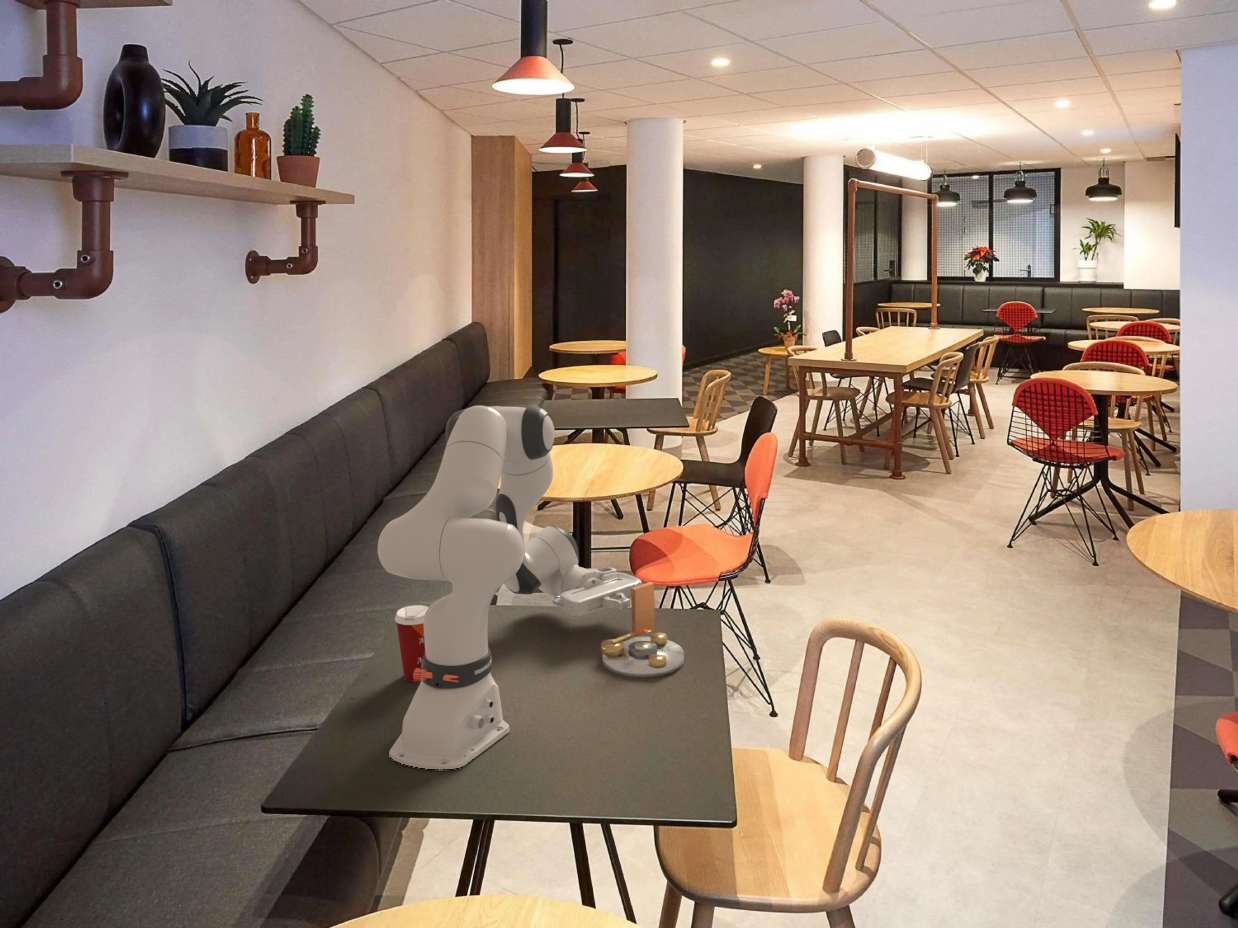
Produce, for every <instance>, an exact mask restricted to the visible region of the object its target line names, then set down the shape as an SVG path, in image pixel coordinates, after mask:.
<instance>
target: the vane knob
mask: <svg viewBox="0 0 1238 928" xmlns="http://www.w3.org/2000/svg"><path fill="white" fill-rule="evenodd" d="M630 604H631V632H630V633H628V634H625V635H622V636H619V637H617V638H612V639H611V638H609V639H606V640H603V641H601V643H600V645H601V646H600V647H601V649H600V650H601V651H600V652H601V654H604V655H606V656H618V655H621V654H623V653H624V641H627V640H629V639H632V638H635V637H641V636H642V635H645V634H647V633H650V632H653V631H655V630H656V629H655V625H656V623H655V622H656V621H655V619H656V618H655V583H654V582H651V581H649V582H646V583H642V585H640V586H637V587H634V588H631V600H630Z"/></svg>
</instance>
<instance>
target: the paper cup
mask: <svg viewBox="0 0 1238 928" xmlns="http://www.w3.org/2000/svg"><path fill="white" fill-rule="evenodd" d="M428 608H429V606H427V605H421V604H417V605H408V606H404V607H401V608H399V609H398V610H397V612H396V615H395V616H394V617H395V618H394V621H395V623H396V628H397V629H396V630H397V636H398V642H399V643H398V644H399V648H400V649H399V651H400V656H401V657H400V658H401V663H402V664H401V665H402V671H403V678H404V680H405V681H407V682H411V683H421V680H414V677H413V673H414V670H415V669H416V668H419V669H422V662H423V657H424V654H425V640H424V626H423V619H424V615H425V612H426V610H427V609H428Z"/></svg>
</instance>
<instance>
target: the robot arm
mask: <svg viewBox="0 0 1238 928" xmlns="http://www.w3.org/2000/svg"><path fill="white" fill-rule="evenodd" d="M444 432H445V435H444V436H445V444H446V446H445V449H444V451H443V456H442V458H441V459H442V460H441V463H440V466H439V469H438V472H437V474H436V477H435V479H434V483H433V484H432V486H431V488H430V489H429V491H427V493H426V495H425V496H423V498H422V499H421V500H420V501H419V502H418V503H417V504H416V505H414V506H413V508H411V509H410V510H408V511H407V512H406V513H404V514H402V515H401V516H399V517H397V518H394V519H392V520H391V521H389V522H388V523H387V524H386V525H385V526H384V528H383V529H382V531H381V533H380V535H379V537H378V540H377V554H378V559H379V562H380V563H381V565H382V567H383V568H384V570H385V571H386V572H387V574H388V573H389V574H392V575H394V576H395V575H396V576H398V577H402V578H406V579H411V580H421V581H422V580H423V581H424V580H426V581H445V582H450V583H451V585H452V592H451V593H449V594H447V595H445V596H442V597H441V598H439V599H437V600H435V601H434V602H433V603H431V604H430V605H429V606H428V607H429V608H428V609H427V610H426V612H425V615H424V619H423V626H424V640H425V654H424V657H423V662H422V669H419V668H416V669H415V670H414V673H413V677H414V680H421V682H419V685H418V687H417V689H416V691H415V694H414V695H413V698H412V700H411V703H410V704H409V706H408V709H407V710H406V713H405V715H404V717H403V720H402V731H401V733H400V735H399V736H398V738H397V739H396V740H395V742H394V743H393V745H392V747H391V748H390V750H389V752H388V753H389V754H388V757H389V758H390V757H391V758H392V759H393V760H392V759H391V758H390V759H391V760H392V761H394V760H395V761H397V762H400V763H401V764H400V763H399V764H400V765H403V764H405V765H404V766H406V765H409V766H408V767H410V766H413V767H412V768H415V767H418V768H417V769H420V768H425V769H424V770H427V769H439V770H438V771H443V770H442V769H454V768H459V769H461V768H460V767H462V766H463V767H465V766H466V765H467V764H469V763H470V762H471V761H472V759H473V760H474V759H476V758H477V757H478V756H479V755H480V754H483V752H484V751H485V750H486V751H487V749H489V748H490V747H491V746H493V745H494V744H495V743H496V742H498V741H499V740H501V739H502V738H503V737H504V736H506V735H507V734H508V733H510V725H509V724H508V723H507V721H505V720H504V718H503V709H502V703H501V696H500V695H501V694H500V689H499V688H500V687H499V686H498V684H497V683H496V681H495V679H494V677H493V676H492V673H491V671H492V670H493V669H492V667H493V666H492V664H493V663H492V662H493V658H492V657H493V656H492V654H491V649H490V647H489V643H488V639H489V638H488V634H489V633H488V627H489V625H488V624H489V623H488V622H489V620H488V619H489V610H490V606H491V603H492V601H493V598H494V597H495V595H496V593H497V592H498V590H499V589H500V588H501V587H502V586H503V585H505V586H506V588H507V589H509V591H510V592H512V593H513V594H516V595H517V594H518V595H533V594H534V593H535V592H536V591H537V590H540V592H543V593H544V594H546V595H548V596H550V597H552V598H553V599H552V604H553V605H555V606H558V607H559V608H560V610H561V611H562V612H564V613H565V614H567V615H569V616H571V617H572V618H580V617H584V616H587V615H590V614H592V613H595V612H598V611H601V610H605V609H616V610H619V611H620V610H623V609H626V608H629V607H631V588H634V587H637V586H640V585H643V583H642V580H641V579H640V578H638V577H636V576H634V575H631V574H629V573H624V572H621V571H619V572H617V569H616V568H614V567H604V568H590V567H589V568H584V567H582V566H579V563H580V557H579V548H578V545H577V542H576V540H575V538H574V537H573V535H572V534H571V533H570V532H569V531H567V530H565V529H564V528H562V527H560V526H556V525H547V526H546V527H544V528H543V529H541V530H540V531H538V532H537V533H536V534H535V535H533V536H532V537H530V539H529V540H527V541H526V542H525V539H524V525H525V522H526V519H527V517H528V516H529V514H530V513H531V511H533V509H534V507H535V506H536V505H537V503H538V502H539V501H540V500H541V498H543V496H544V495H545V494H546V493H547V491H549V488H550V486H551V485H552V483H553V478H554V477H553V476H554V467H553V462H552V457H551V454H550V452H551V451H552V449H553V446H554V443H555V442H554V441H555V436H556V435H555V434H556V433H555V427H554V422H553V419H552V417H551V415H550V413H548V412H547V410H546V409H544V408H541V407H537V406H530V405H529V406H527V407H520V406H500V405H495V406H493V405H492V406H486V405H473V406H471V407H468V408H464V409H461V410H456V411H455V412H454V413H453V414H452V415H451V416H450V417H449V418H448V419H447V421H446V425H445V431H444ZM499 484H500V485H499ZM498 491H499V492H498ZM497 493H498V495H497ZM496 496H497V498H496ZM495 499H496V500H495ZM494 501H495V503H494V504H495V506H494V507H495V519H490V518H475V517H474V518H471V517H473V516H475V515H478V514H480V513H482V512H484V511H485V510H486V509H488V508H489V507H490V506H491V505H492V504H493V502H494ZM395 761H394V762H395ZM397 762H396V763H397ZM468 762H469V763H468ZM463 767H462V768H463ZM440 769H441V770H440ZM454 770H455V769H454Z"/></svg>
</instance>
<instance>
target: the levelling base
mask: <svg viewBox="0 0 1238 928" xmlns="http://www.w3.org/2000/svg"><path fill="white" fill-rule="evenodd" d="M601 654H602V653H601ZM601 658H602V660H601V661H602V665H603V666H604V667H605V668H606V669H607V670H608V671H609V672H612V673H614V674H616V675H618V676H624V677H629V678H638V679H647V678H649V679H650V678H657V677H663V676H665V675H670V674H672V673H675V672H676V671H677V670H679V669H680V668H681V667H682V666H683V665H684V661H685V651H684V649H683V648H682V647H681V646H680V645H679V644H677V643H676V642H674V641H671V640H669V639H668V635H667V633H664V632H653V633H651V634H650V636H637V637H635V638H632V639H629V640H627V641H624V653H623V654H621V655H618V656H606V655H604V654H602V657H601Z"/></svg>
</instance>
